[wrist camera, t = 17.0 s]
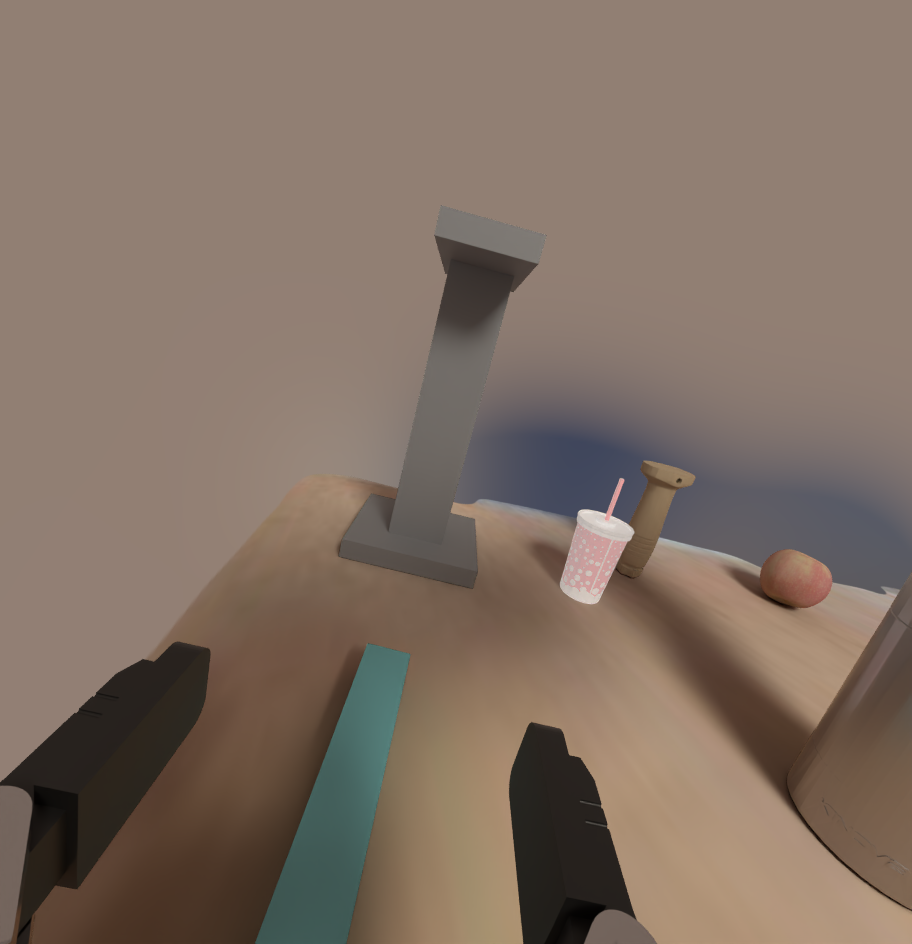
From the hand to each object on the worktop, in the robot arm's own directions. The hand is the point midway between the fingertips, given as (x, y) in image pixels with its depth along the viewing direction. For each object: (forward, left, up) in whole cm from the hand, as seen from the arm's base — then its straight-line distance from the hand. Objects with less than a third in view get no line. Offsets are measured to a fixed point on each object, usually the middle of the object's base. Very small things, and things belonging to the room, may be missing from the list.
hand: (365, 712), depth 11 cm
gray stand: (-18, -31, -14) cm, 39 cm away
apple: (-69, -14, -14) cm, 72 cm away
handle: (-47, -24, -14) cm, 55 cm away
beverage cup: (-35, -21, -14) cm, 43 cm away
